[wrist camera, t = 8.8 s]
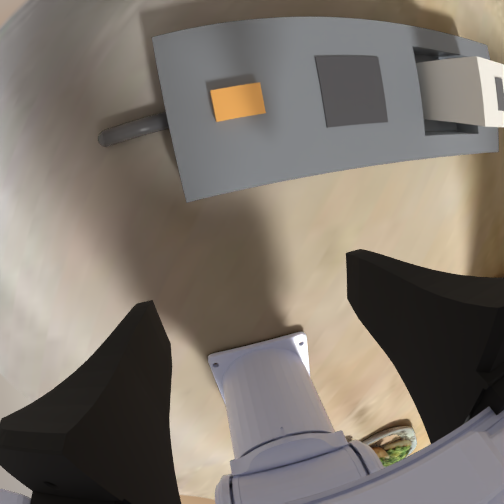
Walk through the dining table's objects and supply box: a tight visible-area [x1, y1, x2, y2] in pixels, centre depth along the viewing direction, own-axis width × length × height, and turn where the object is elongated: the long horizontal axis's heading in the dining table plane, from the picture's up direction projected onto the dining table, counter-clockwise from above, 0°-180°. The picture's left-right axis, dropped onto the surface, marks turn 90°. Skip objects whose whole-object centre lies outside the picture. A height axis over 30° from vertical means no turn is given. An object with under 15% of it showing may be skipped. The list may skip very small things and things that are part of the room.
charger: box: [416, 56, 504, 127], centre depth 14 cm, size 4×4×7 cm
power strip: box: [98, 17, 499, 202], centre depth 16 cm, size 28×9×4 cm, turn 100°
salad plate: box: [362, 426, 417, 468], centre depth 36 cm, size 19×18×5 cm
